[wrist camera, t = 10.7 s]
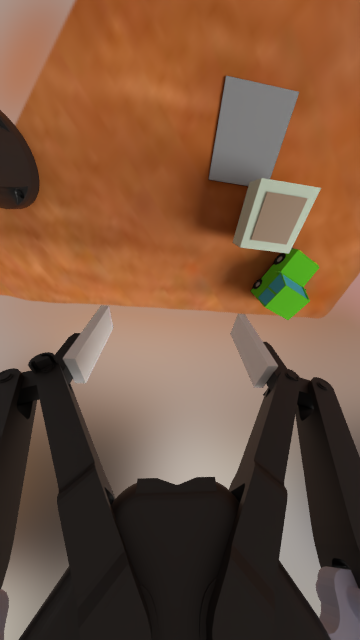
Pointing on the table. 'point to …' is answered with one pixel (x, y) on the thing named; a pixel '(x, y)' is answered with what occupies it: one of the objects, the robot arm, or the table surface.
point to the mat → (250, 130)
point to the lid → (273, 214)
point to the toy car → (286, 283)
